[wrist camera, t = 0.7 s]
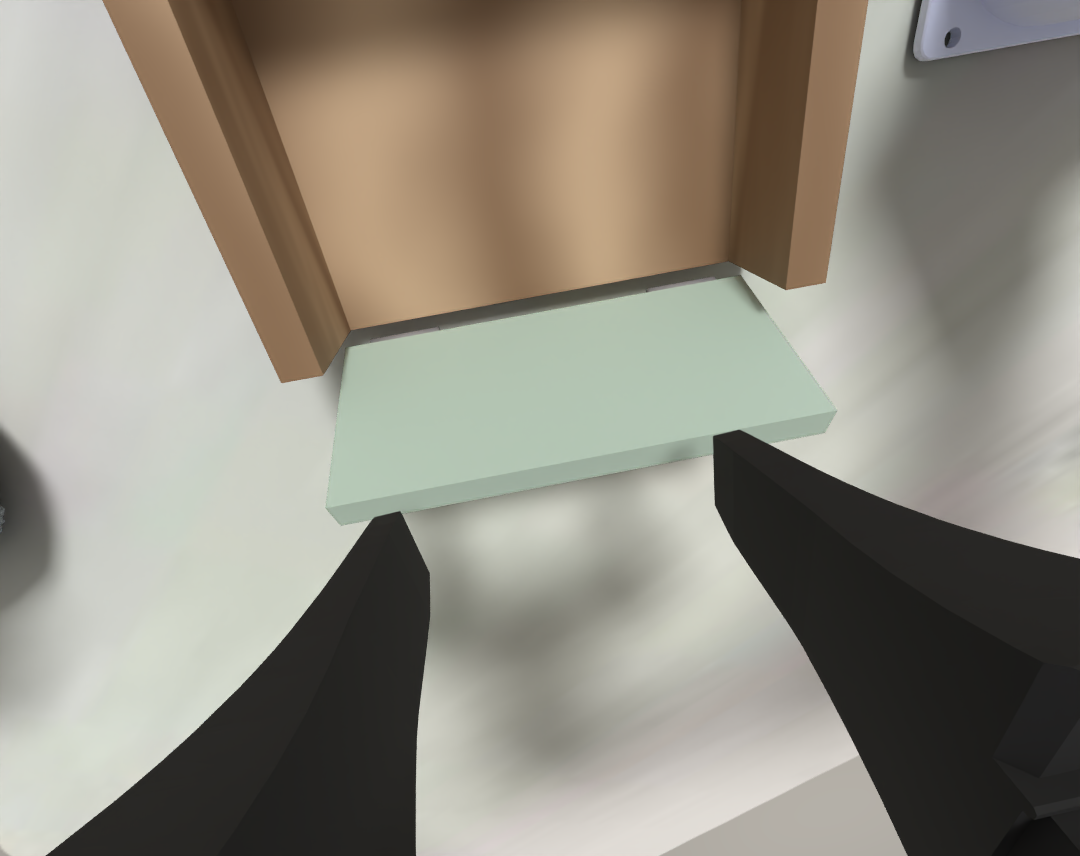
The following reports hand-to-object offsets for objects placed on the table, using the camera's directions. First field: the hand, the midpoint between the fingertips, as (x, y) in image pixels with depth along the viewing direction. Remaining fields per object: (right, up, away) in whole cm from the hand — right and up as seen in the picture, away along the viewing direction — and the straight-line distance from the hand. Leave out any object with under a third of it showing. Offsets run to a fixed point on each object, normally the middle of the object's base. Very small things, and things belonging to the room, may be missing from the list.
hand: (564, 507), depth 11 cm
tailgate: (0, +6, +7) cm, 9 cm away
